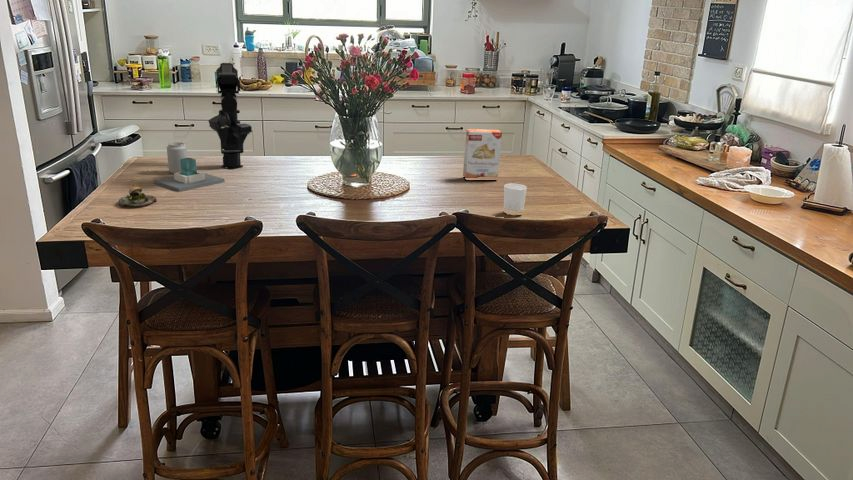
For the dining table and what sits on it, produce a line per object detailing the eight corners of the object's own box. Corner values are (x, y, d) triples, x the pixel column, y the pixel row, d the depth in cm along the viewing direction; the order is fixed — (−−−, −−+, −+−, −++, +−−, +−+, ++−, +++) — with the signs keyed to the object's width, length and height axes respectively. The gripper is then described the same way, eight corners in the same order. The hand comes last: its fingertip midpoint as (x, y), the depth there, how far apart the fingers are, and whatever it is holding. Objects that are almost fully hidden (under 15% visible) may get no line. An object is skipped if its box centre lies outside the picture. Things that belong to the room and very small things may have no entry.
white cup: (500, 210, 238) (502, 183, 235) (521, 210, 239) (524, 183, 236) (504, 216, 231) (506, 189, 228) (526, 217, 232) (529, 189, 228)
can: (191, 170, 271) (189, 141, 267) (183, 175, 264) (181, 145, 260) (174, 169, 271) (171, 140, 267) (165, 174, 264) (162, 144, 260)
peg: (190, 177, 256) (189, 157, 254) (197, 179, 254) (195, 159, 251) (181, 179, 253) (180, 159, 250) (188, 181, 251) (186, 160, 248)
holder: (199, 174, 266) (198, 165, 265) (224, 181, 257) (224, 172, 256) (154, 183, 251) (153, 174, 250) (179, 191, 242) (178, 182, 241)
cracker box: (465, 181, 274) (468, 131, 267) (462, 177, 280) (465, 128, 273) (498, 181, 277) (502, 131, 269) (494, 177, 282) (498, 129, 275)
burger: (118, 210, 220) (116, 189, 217) (119, 200, 230) (116, 179, 227) (157, 207, 224) (155, 186, 222) (156, 198, 234) (154, 177, 232)
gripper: (196, 106, 251) (199, 147, 256) (227, 112, 241) (229, 155, 246) (220, 103, 260) (223, 143, 265) (251, 109, 249) (253, 150, 255)
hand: (231, 147), depth 257 cm, fingers open, 9 cm apart
